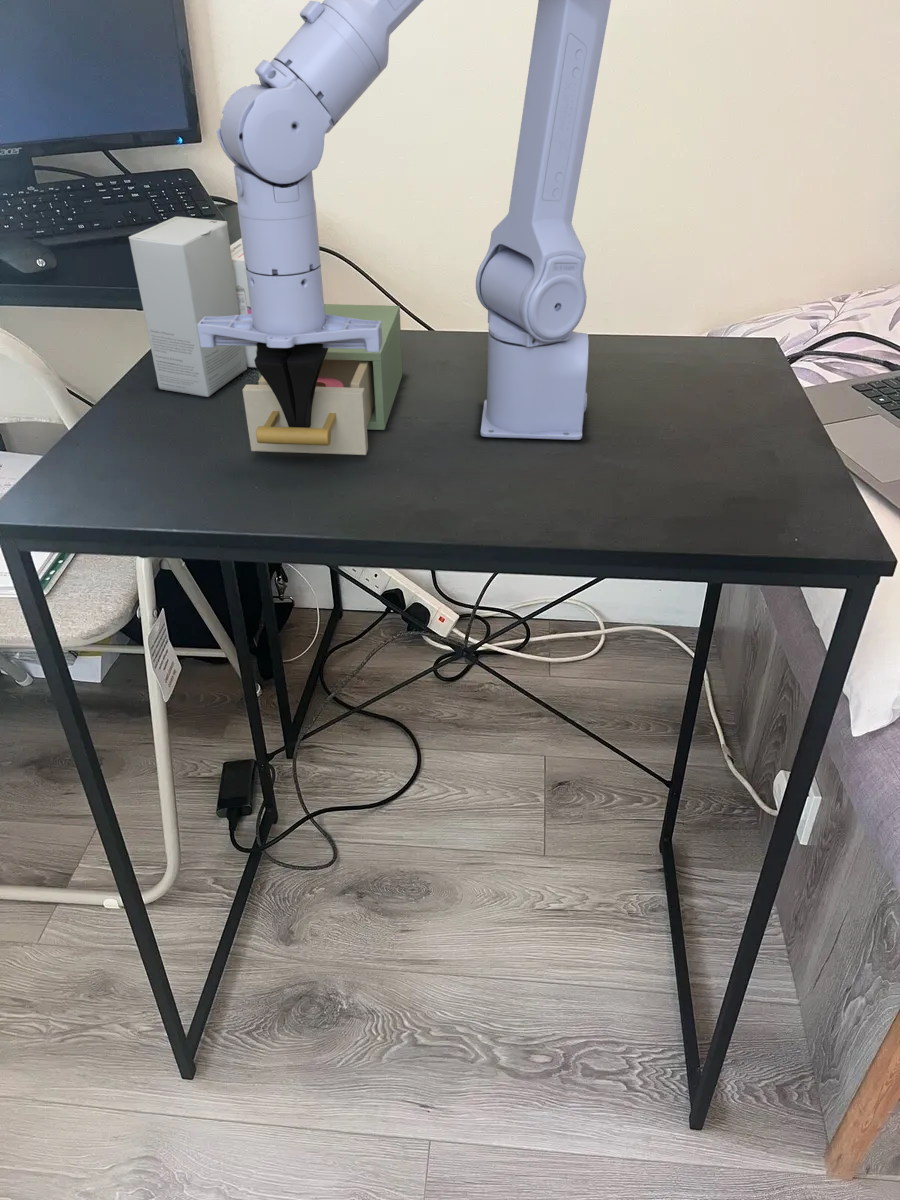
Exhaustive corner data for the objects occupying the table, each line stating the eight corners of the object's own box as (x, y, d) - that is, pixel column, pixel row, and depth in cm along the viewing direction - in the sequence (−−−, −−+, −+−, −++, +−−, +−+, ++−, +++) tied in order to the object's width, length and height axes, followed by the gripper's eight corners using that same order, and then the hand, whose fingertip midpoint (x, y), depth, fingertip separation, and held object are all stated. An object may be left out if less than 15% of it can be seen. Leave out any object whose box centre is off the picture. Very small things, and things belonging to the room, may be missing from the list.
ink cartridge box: (254, 340, 107) (237, 207, 98) (294, 342, 106) (280, 209, 97) (225, 366, 100) (204, 226, 91) (268, 370, 99) (250, 228, 90)
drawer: (357, 481, 76) (352, 417, 73) (236, 477, 77) (226, 413, 73) (385, 398, 90) (383, 341, 87) (283, 395, 91) (276, 339, 88)
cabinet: (384, 430, 86) (380, 353, 82) (265, 426, 87) (255, 349, 83) (402, 376, 97) (399, 305, 93) (296, 373, 98) (288, 302, 94)
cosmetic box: (200, 362, 101) (175, 214, 92) (252, 370, 99) (232, 219, 90) (155, 390, 94) (123, 234, 85) (209, 399, 92) (183, 240, 83)
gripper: (173, 278, 67) (203, 446, 74) (369, 283, 66) (378, 452, 74) (202, 253, 72) (227, 411, 80) (382, 256, 71) (389, 416, 79)
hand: (300, 429), depth 77 cm, fingers closed
